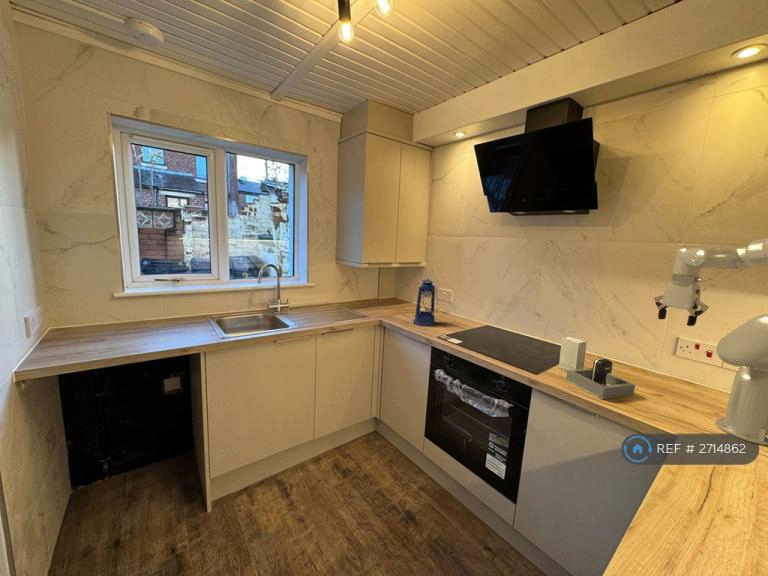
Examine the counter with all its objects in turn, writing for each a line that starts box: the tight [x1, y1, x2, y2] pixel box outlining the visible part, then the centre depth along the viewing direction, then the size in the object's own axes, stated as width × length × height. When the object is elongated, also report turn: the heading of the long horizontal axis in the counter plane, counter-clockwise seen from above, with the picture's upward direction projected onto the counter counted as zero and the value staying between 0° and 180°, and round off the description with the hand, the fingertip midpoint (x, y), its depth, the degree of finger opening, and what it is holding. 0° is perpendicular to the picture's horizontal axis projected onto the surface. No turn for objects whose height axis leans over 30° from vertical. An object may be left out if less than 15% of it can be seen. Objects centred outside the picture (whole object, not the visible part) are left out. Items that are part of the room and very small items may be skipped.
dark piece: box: [591, 357, 613, 386], centre depth 123 cm, size 7×4×11 cm, turn 112°
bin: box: [565, 367, 636, 400], centre depth 124 cm, size 16×16×4 cm
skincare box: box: [558, 336, 588, 372], centre depth 139 cm, size 8×6×15 cm
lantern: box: [412, 279, 439, 327], centre depth 205 cm, size 17×15×30 cm
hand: (675, 322), depth 122 cm, fingers open, 9 cm apart
